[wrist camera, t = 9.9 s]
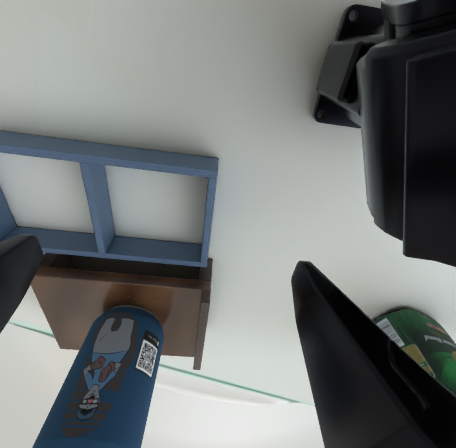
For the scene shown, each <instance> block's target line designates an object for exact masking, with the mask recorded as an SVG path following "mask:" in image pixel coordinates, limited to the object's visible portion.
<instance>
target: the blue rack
mask: <svg viewBox="0 0 456 448" xmlns="http://www.w3.org/2000/svg"><path fill="white" fill-rule="evenodd" d="M0 152H1V153H10V154H18V155H26V156H35V157H43V158H51V159H60V160H68V161H76V162H80V166H81V171H82V176H83V181H84V185H85V190H86V195H87V200H88V204H89V209H90V214H91V219H92V223H93V228H94V233H95V234H89V233H79V232H69V231H59V230H48V229H38V228H28V227H18V226H16V223H15V221H14V218H13V216H12V214H11V211H10V209H9V207H8V204H7V202H6V200H5V197H4V195H3V192H2V190H1V188H0V242H2V241H5V240H7V239H10V238H12V237H15V236H17V235H20V234H29V235H35V236H36V237H37V238H38V240H39V243H40V245H41V248H42V251H43V252H44V253H55V254H66V255H77V256H88V257H99V258H110V259H121V260H131V261H142V262H153V263H164V264H175V265H186V266H197V267H207V258H208V250H209V241H210V233H211V224H212V216H213V207H214V199H215V190H216V182H217V174H218V160H219V159H218V158H212V157H204V156H196V155H188V154H181V153H173V152H165V151H157V150H149V149H141V148H133V147H125V146H118V145H110V144H102V143H94V142H86V141H78V140H70V139H62V138H55V137H47V136H39V135H31V134H23V133H15V132H7V131H0ZM105 165H109V166H118V167H126V168H134V169H143V170H151V171H159V172H167V173H176V174H184V175H192V176H201V177H209V180H208V190H207V201H206V211H205V221H204V231H203V242H202V245H200V244H190V243H180V242H170V241H160V240H150V239H140V238H130V237H119V236H115V230H114V223H113V217H112V210H111V204H110V197H109V191H108V184H107V178H106V171H105Z"/></svg>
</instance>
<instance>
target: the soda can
mask: <svg viewBox="0 0 456 448" xmlns="http://www.w3.org/2000/svg"><path fill="white" fill-rule="evenodd" d="M163 342H164V332H163V329H162V326H161V324H160V321H159V319H158V318H157V316H156V315H155V314H153V313H152V312H150V311H149V310H147V309H144V308H142V307H138V306H133V305H121V306H116V307H113V308H111V309H109V310H108V311H106V312H105V313H103V314H102V315H101V316H99V317H98V318H97V319H96V320H95V321H94V322H93V324H92V326H91V328H90V330H89V332H88V334H87V336H86V338H85V340H84V342H83V344H82V346H81V348H80V350H79V352H78V354H77V357H76V359H75V361H74V363H73V365H72V367H71V369H70V371H69V373H68V375H67V377H66V379H65V382H64V383H63V385H62V388H61V390H60V392H59V394H58V396H57V398H56V400H55V402H54V404H53V406H52V408H51V410H50V412H49V415H48V416H47V419H46V421H45V423H44V425H43V427H42V429H41V431H40V433H39V435H38V437H37V439H36V441H35V443H34V446H33V448H141V444H142V439H143V435H144V430H145V425H146V421H147V416H148V412H149V407H150V402H151V398H152V393H153V389H154V384H155V379H156V375H157V370H158V365H159V361H160V356H161V352H162V347H163Z"/></svg>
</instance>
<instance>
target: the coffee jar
mask: <svg viewBox="0 0 456 448" xmlns="http://www.w3.org/2000/svg"><path fill="white" fill-rule="evenodd" d="M374 323H375V324H377V325H378V326H379V327H380V328H381V329H382V330H383V331H384V332H385V333H386V334H387V335H388V336H389V337H390V339H392V340H393V341H395V342H396V343H397V344H398V345H399V346H400V347H401V348H402V349H403V350H404V351H405V352H406V353H407V354H408V355H410V356H411V357H412V358H413V359H414V360H415V361H416V362H417V363H418V364H419V365H420V366H422V367H423V368H424V369H425V370H426V371H427V372H429V373H430V374H431V375H432V376H433V377H434V378H435V379H437V380H438V381H439V382H440V383H441V384H442V385H444V386H445V387H446V388H447V389H448V390H450V391H451V392H452V393H453V394H454V395H456V344H455V343H454V341H453V340H452V339H451V337H450V336H449V335H448V334H447V332H446V331H445V330H444V328H443V327H442V326H441V325H440V324H439V323H437V322H436V321H435V320H433V319H432V318H430V317H428V316H426V315H424V314H422V313H420V312H417V311H414V310H410V309H402V310H399V311H396V312H392V313H388V314H385V315H383V316H381V317H380V318H378V319H377V320H375V321H374Z"/></svg>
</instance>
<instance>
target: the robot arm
mask: <svg viewBox="0 0 456 448" xmlns="http://www.w3.org/2000/svg"><path fill="white" fill-rule="evenodd" d="M351 11H354V12H355V18H354V20H352V21H351V20H350V19H349V15H350V13H351ZM317 91H318V93H319V95H318V98H317V101H316V105H315V108H314V111H313V118H314V120H315V121H317V122H320V123H327V124H334V125H341V126H348V127H355V128H361V131H362V144H363V157H364V169H365V182H366V195H367V204H368V207H369V210H370V212H371V215H372V216H373V217H374V223H375V224H376V225H377V226H378V227H379V228H380V229H382V230H383V231H384V232H385V233H387V234H389V235H391V236H393V237H395V238H397V239H399V240H402V241H403V254H404V255H405V256H406V257H412V258H419V259H426V260H433V261H437V262H441V263H444V264H448V265H451V266H454V267H456V0H384V1H382V2H381V9H380V8H375V7H369V6H364V5H358V4H355V5H351V6H349V7H348V8H347V9H346V10H345V11H344V13H343V16H342V19H341V23H340V26H339V29H338V32H337V36H336V39H335V41H334V42H333V43H332V44H330V45H329V48H328V51H327V54H326V58H325V61H324V64H323V68H322V71H321V75H320V78H319V81H318V85H317ZM321 111H323V115H322V117H319V118H318V113H319V112H321ZM43 257H44V254H43V251H42V248H41V245H40V243H39V240H38V238H37V237H36V236H35V235H29V234H20V235H17V236H15V237H12V238H10V239H7V240H5V241H2V242H0V333H1V332H2V330H3V329H4V327H5V326H6V324H7V322H8V321H9V319H10V318H11V316H12V315H13V313H14V312H15V310H16V309H17V307H18V306H19V304H20V303H21V301H22V299H23V297H24V296H25V294H26V292H27V290H28V288H29V286H30V284H31V282H32V280H33V278H34V276H35V274H36V273H37V271H38V269H39V267H40V265H41V263H42V261H43ZM291 283H292V292H293V301H294V310H295V318H296V324H297V329H298V333H299V338H300V342H301V346H302V351H303V355H304V359H305V364H306V368H307V372H308V377H309V381H310V385H311V390H312V394H313V398H314V403H315V407H316V411H317V415H318V420H319V424H320V429H321V433H322V437H323V441H324V446H325V448H456V395H454V394H453V393H452V392H451V391H450V390H448V389H447V388H446V387H445V386H444V385H442V384H441V383H440V382H439V381H438V380H437V379H435V378H434V377H433V376H432V375H431V374H430V373H429V372H427V371H426V370H425V369H424V368H423V367H422V366H420V365H419V364H418V363H417V362H416V361H415V360H414V359H413V358H412V357H411V356H410V355H408V354H407V353H406V352H405V351H404V350H403V349H402V348H401V347H400V346H399V345H398V344H397V343H396V342H395V341H393V340H392V339H390V337H389V336H388V335H387V334H386V333H385V332H384V331H383V330H382V329H381V328H380V327H379V326H378V325H377V324H375V323H374V322H373V321H372V320H371V319H370V318H369V317H368V316H367V315H366V314H365V313H364V312H363V311H362V310H361V309H360V308H359V307H358V306H356V305H355V304H354V303H353V302H352V301H351V300H350V299H349V298H348V297H347V296H346V295H345V294H344V293H343V292H342V291H341V290H340V289H339V288H337V287H336V286H335V285H334V284H333V283H332V282H331V281H330V280H329V279H328V278H327V277H326V276H325V275H324V274H323V273H322V272H321V271H320V270H319V269H317V268H316V267H315V266H314V265H313V264H312V263H311V262H309V261H299V262H298V263H297V265H296V267H295V270H294V272H293V275H292V279H291Z"/></svg>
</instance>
